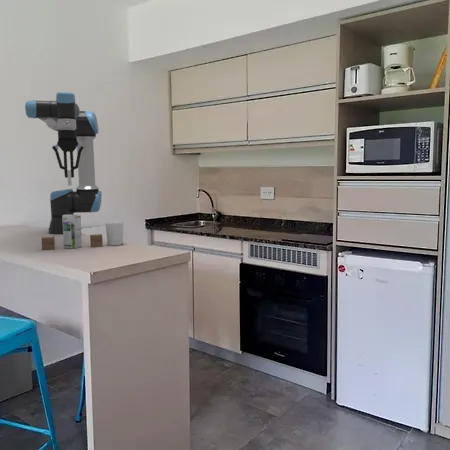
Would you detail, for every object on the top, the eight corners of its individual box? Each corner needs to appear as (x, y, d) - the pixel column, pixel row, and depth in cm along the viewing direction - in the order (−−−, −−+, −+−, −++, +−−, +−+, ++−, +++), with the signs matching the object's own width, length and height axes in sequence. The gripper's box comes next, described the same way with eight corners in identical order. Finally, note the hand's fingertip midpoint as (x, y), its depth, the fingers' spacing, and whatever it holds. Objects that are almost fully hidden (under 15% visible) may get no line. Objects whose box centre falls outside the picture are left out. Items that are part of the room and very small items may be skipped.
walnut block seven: (42, 248, 197) (42, 236, 197) (54, 247, 199) (54, 236, 198) (42, 250, 192) (41, 238, 192) (54, 249, 194) (53, 237, 193)
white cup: (111, 246, 201) (110, 224, 199) (103, 244, 206) (102, 222, 205) (127, 244, 206) (126, 222, 205) (118, 242, 212) (118, 221, 210)
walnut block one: (90, 245, 203) (90, 234, 203) (102, 245, 205) (101, 233, 204) (91, 247, 199) (90, 236, 198) (102, 246, 200) (102, 235, 200)
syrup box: (63, 248, 197) (61, 215, 195) (72, 246, 202) (70, 213, 201) (73, 248, 195) (72, 215, 193) (82, 246, 201) (81, 214, 199)
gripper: (50, 128, 187) (53, 185, 190) (83, 129, 191) (85, 185, 194) (51, 130, 194) (54, 185, 197) (82, 131, 198) (85, 185, 201)
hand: (69, 185), depth 195 cm, fingers closed
